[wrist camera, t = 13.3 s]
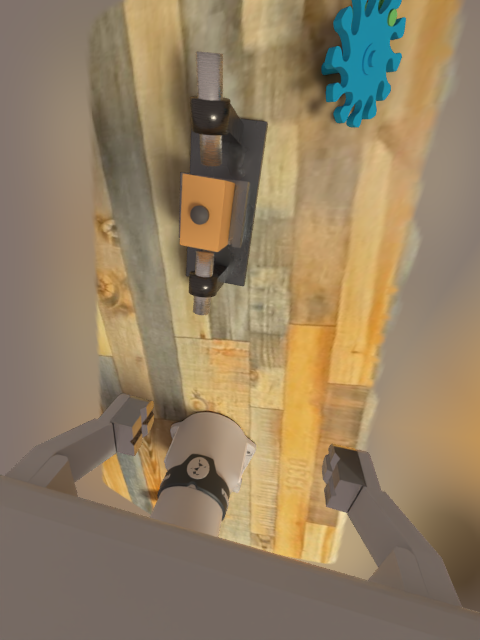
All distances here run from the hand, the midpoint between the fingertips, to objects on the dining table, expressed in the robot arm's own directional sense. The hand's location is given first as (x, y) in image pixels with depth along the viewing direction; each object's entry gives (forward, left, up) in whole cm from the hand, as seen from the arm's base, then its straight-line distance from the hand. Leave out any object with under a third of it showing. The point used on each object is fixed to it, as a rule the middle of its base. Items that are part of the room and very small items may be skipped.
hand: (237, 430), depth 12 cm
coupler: (+7, +8, -25) cm, 27 cm away
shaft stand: (+7, +8, -29) cm, 31 cm away
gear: (+22, -5, -29) cm, 37 cm away
